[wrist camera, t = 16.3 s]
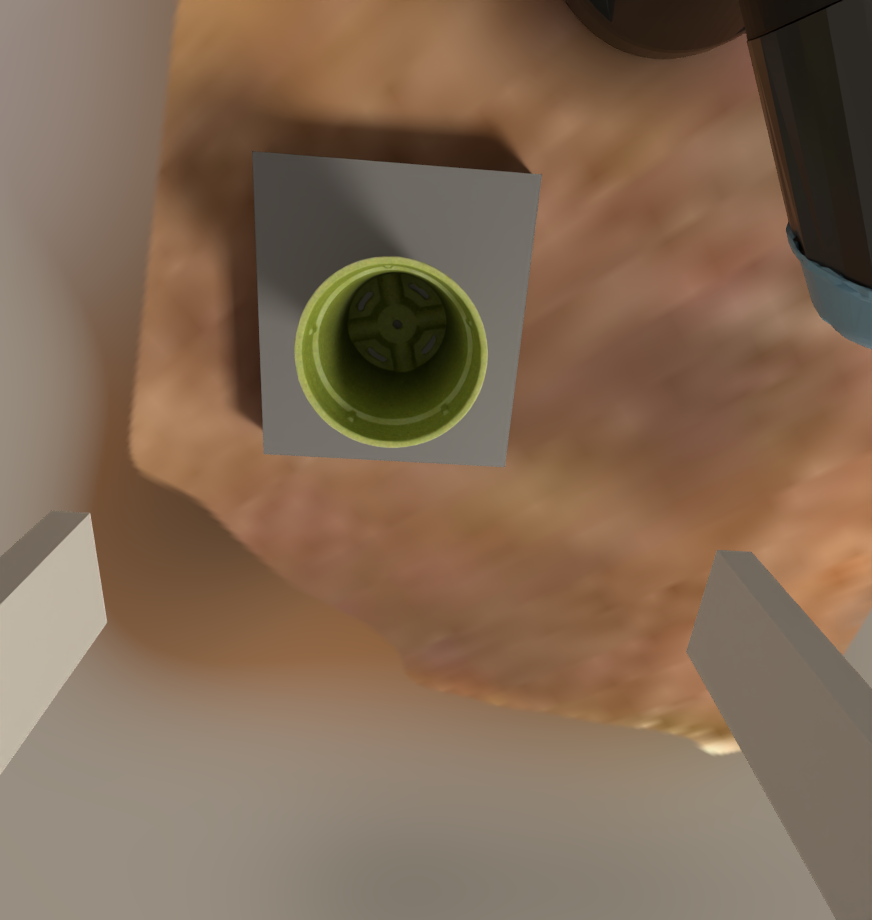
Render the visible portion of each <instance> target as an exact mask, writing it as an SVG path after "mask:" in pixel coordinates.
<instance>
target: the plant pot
mask: <svg viewBox="0 0 872 920" xmlns="http://www.w3.org/2000/svg"><path fill="white" fill-rule="evenodd" d="M410 284H414V285H415V286H417V287H418V288H420V289H423V290H425V291H426V293H427V294H428V295H429V297H428V299H424V298H423V296H421V295H420V294H419V293H418V292H416V291H414V290H413V289H410V288H409V285H410ZM368 292H373V296H372V297H371V298H370V299H369V300H368V302H367V303H366V305H365V306H364V309H363V311H359V309H358V305H359V302H360V301H361V300H362V299H363V297H364V295H365V294H366V293H368ZM396 320H398V321H399V322H401V324H402V326H401V328H399V329H397V328H395V327H394V325H393V323H394V321H396ZM433 335H435V341H434V344H433V346H432V348H431V349H430V350H429V351H428V352H427V353H425V354H422V353H421V350H422V349H423V348H424V347H425V346H426V345H427V344H428V342H429V341H430V339H432V336H433ZM369 347H370V348H372V349H373V350H374V351H376V352H377V353H378V354H379V355H381V356H383V357H385V358H387V361H384V362H382V361H380V360H378V359H376V358H375V357H373V356H372V355H371V354H369V351H368V348H369ZM294 358H295V366H296V371H297V375H298V380H299V383H300V385H301V388H302V390H303V392H304V394H305V396H306V398H307V400H308V402H309V403H310V404H311V406H312V407H313V409H314V410H315V411H316V412H317V414H318V415H319V416H320V417H321V418H322V419H323V420H324V421H325V422H326V423H327V424H328V425H330V426H331V427H332V428H334V429H335V430H337V431H338V432H340V433H341V434H343V435H345V436H347V437H348V438H350V439H353V440H355V441H358V442H360V443H364V444H367V445H372V446H377V447H384V448H399V447H408V446H413V445H418V444H421V443H425V442H428V441H430V440H433V439H435V438H437V437H439V436H440V435H442V434H444V433H445V432H447V431H448V430H450V429H451V428H452V427H453V426H455V425H456V424H457V423H458V422H459V421H460V420H461V419H462V418H463V417H464V416H465V415H466V414H467V412H468V411H469V410H470V408H471V407H472V405H473V404H474V402H475V400H476V399H477V397H478V395H479V393H480V390H481V388H482V385H483V382H484V378H485V374H486V369H487V361H488V348H487V339H486V333H485V329H484V325H483V323H482V320H481V317H480V315H479V313H478V311H477V309H476V307H475V305H474V303H473V302H472V300H471V299H470V298H469V296H468V295H467V294H466V292H465V291H464V290H463V289H462V288H461V287H460V286H459V285H458V284H457V283H456V282H455V281H454V280H453V279H451V278H450V277H449V276H448V275H446V274H445V273H443V272H442V271H440V270H438V269H436V268H435V267H433V266H431V265H429V264H426V263H424V262H421V261H418V260H415V259H410V258H405V257H398V256H379V257H372V258H367V259H363V260H359V261H356V262H354V263H351V264H349V265H347V266H345V267H343V268H341V269H339V270H338V271H336V272H335V273H334V274H332V275H331V276H329V277H328V278H327V279H326V280H325V281H324V282H323V283H322V284H321V285H320V286H319V287H318V288H317V289H316V291H315V292H314V293H313V294H312V296H311V297H310V299H309V301H308V302H307V304H306V306H305V308H304V310H303V312H302V314H301V317H300V320H299V323H298V326H297V330H296V336H295V345H294Z"/></svg>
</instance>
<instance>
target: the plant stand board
mask: <svg viewBox="0 0 872 920" xmlns="http://www.w3.org/2000/svg"><path fill="white" fill-rule="evenodd" d="M252 159H253V185H254V211H255V237H256V263H257V290H258V316H259V342H260V368H261V394H262V420H263V446H264V454H274V455H292V456H310V457H329V458H347V459H366V460H384V461H402V462H421V463H439V464H458V465H476V466H494V467H505V461H506V454H507V446H508V438H509V430H510V422H511V414H512V406H513V398H514V390H515V383H516V375H517V367H518V359H519V351H520V343H521V335H522V327H523V320H524V312H525V304H526V296H527V288H528V280H529V272H530V264H531V256H532V249H533V241H534V233H535V225H536V217H537V209H538V201H539V193H540V185H541V178H542V174H529V173H517V172H504V171H492V170H479V169H467V168H455V167H442V166H430V165H417V164H405V163H393V162H380V161H368V160H355V159H343V158H330V157H318V156H306V155H293V154H281V153H268V152H256V151H252ZM379 256H398V257H405V258H410V259H415V260H418V261H421V262H424V263H426V264H429V265H431V266H433V267H435V268H436V269H438V270H440V271H442V272H443V273H445V274H446V275H448V276H449V277H450V278H451V279H453V280H454V281H455V282H456V283H457V284H458V285H459V286H460V287H461V288H462V289H463V290H464V291H465V292H466V294H467V295H468V296H469V298H470V299H471V300H472V302H473V303H474V305H475V307H476V309H477V311H478V313H479V315H480V317H481V320H482V323H483V325H484V329H485V333H486V339H487V348H488V361H487V369H486V374H485V378H484V382H483V385H482V388H481V390H480V393H479V395H478V397H477V399H476V400H475V402H474V404H473V405H472V407H471V408H470V410H469V411H468V412H467V414H466V415H465V416H464V417H463V418H462V419H461V420H460V421H459V422H458V423H457V424H456V425H455V426H453V427H452V428H451V429H450V430H448V431H447V432H445V433H444V434H442V435H440V436H439V437H437V438H435V439H433V440H430V441H428V442H425V443H421V444H418V445H413V446H408V447H399V448H384V447H377V446H372V445H367V444H364V443H360V442H358V441H355V440H353V439H350V438H348V437H347V436H345V435H343V434H341V433H340V432H338V431H337V430H335V429H334V428H332V427H331V426H330V425H328V424H327V423H326V422H325V421H324V420H323V419H322V418H321V417H320V416H319V415H318V414H317V412H316V411H315V410H314V409H313V407H312V406H311V404H310V403H309V402H308V400H307V398H306V396H305V394H304V392H303V390H302V388H301V385H300V383H299V380H298V375H297V371H296V366H295V358H294V345H295V336H296V330H297V326H298V323H299V320H300V317H301V314H302V312H303V310H304V308H305V306H306V304H307V302H308V301H309V299H310V297H311V296H312V294H313V293H314V292H315V291H316V289H317V288H318V287H319V286H320V285H321V284H322V283H323V282H324V281H325V280H326V279H327V278H328V277H329V276H331V275H332V274H334V273H335V272H336V271H338V270H339V269H341V268H343V267H345V266H347V265H349V264H351V263H354V262H356V261H359V260H363V259H367V258H372V257H379ZM409 288H410V289H413V290H414V291H416V292H418V293H419V294H420V295H421V296H423V298H424V299H428V297H429V295H428V294H427V293H426V291H425V290H423V289H420V288H418V287H417V286H415V285H414V284H410V285H409ZM372 296H373V292H368V293H366V294H365V295H364V297H363V299H362V300H361V301H360V302H359V305H358V309H359V311H363V309H364V306H365V305H366V303H367V302H368V300H369V299H370V298H371V297H372ZM393 325H394V327H395V328H397V329H399V328H401V326H402V324H401V322H399V321H398V320H396V321H394V323H393ZM434 341H435V335H433V336H432V339H430V341H429V342H428V344H427V345H426V346H425V347H424V348H423V349H422V350H421V353H422V354H425V353H427V352H428V351H429V350H430V349H431V348H432V346H433V344H434ZM368 351H369V354H371V355H372V356H373V357H375V358H376V359H378V360H380V361H382V362H384V361H387V358H385V357H383V356H381V355H379V354H378V353H377V352H376V351H374V350H373V349H372V348H370V347H369V348H368Z"/></svg>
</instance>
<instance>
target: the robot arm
mask: <svg viewBox="0 0 872 920" xmlns="http://www.w3.org/2000/svg"><path fill="white" fill-rule="evenodd" d="M565 1H566V2H567V4H568V5H569V7H570V8H571V10H572V11H573V12H574V14H575V15H576V16H577V17H578V18H579V20H580V21H581V22H582V23H583V24H584V25H585V26H586V27H587V28H588V29H589V30H590V31H591V32H593V33H594V34H595V35H596V36H598V37H599V38H600V39H602V40H603V41H605V42H606V43H608V44H610V45H612V46H613V47H615V48H617V49H620V50H622V51H624V52H627V53H630V54H633V55H637V56H641V57H647V58H654V59H674V58H681V57H687V56H692V55H695V54H699V53H702V52H705V51H708V50H710V49H713V48H715V47H717V46H720V45H722V44H724V43H726V42H728V41H731V40H733V39H735V38H737V37H739V36H740V35H742V34H744V33H746V34H747V39H748V40H747V44H748V48H749V53H750V57H751V61H752V66H753V70H754V74H755V79H756V83H757V87H758V92H759V96H760V100H761V104H762V109H763V113H764V117H765V122H766V126H767V130H768V135H769V139H770V143H771V148H772V152H773V156H774V161H775V165H776V169H777V173H778V178H779V182H780V186H781V191H782V195H783V199H784V204H785V208H786V212H787V217H788V221H789V222H788V225H787V228H786V232H787V237H788V242H789V245H790V247H791V249H792V251H793V253H794V254H795V255H796V257H797V258H798V259H799V261H800V262H801V266H802V269H803V273H804V276H805V280H806V283H807V287H808V290H809V293H810V297H811V300H812V303H813V305H814V307H815V309H816V310H817V312H818V314H819V315H820V317H821V318H822V319H823V320H824V321H826V322H827V323H829V324H831V325H832V326H833V328H834V329H835V330H836V331H838V332H839V333H840V334H841V335H842V336H844V337H845V338H847V339H848V340H850V341H853V342H855V343H857V344H859V345H862V346H864V347H867V348H870V349H872V0H565ZM106 623H107V618H106V612H105V605H104V599H103V593H102V587H101V580H100V574H99V567H98V561H97V555H96V548H95V541H94V536H93V529H92V522H91V516H90V513H82V512H65V511H51V512H50V513H48V514H47V515H46V516H45V517H44V518H43V519H42V520H41V521H40V522H38V523H37V524H36V525H35V526H34V527H33V528H32V529H31V530H30V531H28V532H27V533H26V534H25V535H24V536H23V537H22V538H21V539H20V540H19V541H17V542H16V543H15V544H14V545H13V546H12V547H11V548H10V549H9V550H8V551H7V552H5V553H4V554H3V555H2V556H1V557H0V774H1V773H2V771H3V770H4V769H5V767H6V766H7V764H8V763H9V761H10V760H11V759H12V757H13V756H14V755H15V753H16V752H17V750H18V749H19V747H20V746H21V745H22V743H23V742H24V740H25V739H26V737H27V736H28V735H29V733H30V731H31V730H32V729H33V727H34V726H35V724H36V723H37V722H38V720H39V719H40V717H41V716H42V715H43V713H44V712H45V710H46V709H47V707H48V706H49V705H50V703H51V702H52V700H53V699H54V697H55V696H56V695H57V693H58V692H59V690H60V689H61V687H62V686H63V685H64V683H65V682H66V680H67V679H68V678H69V676H70V675H71V673H72V672H73V670H74V669H75V667H76V666H77V665H78V663H79V662H80V660H81V659H82V658H83V656H84V655H85V653H86V652H87V650H88V649H89V648H90V646H91V645H92V643H93V642H94V640H95V639H96V638H97V636H98V635H99V633H100V632H101V630H102V629H103V628H104V626H105V625H106ZM686 652H687V654H688V655H689V657H690V659H691V661H692V663H693V664H694V666H695V668H696V670H697V672H698V673H699V675H700V677H701V679H702V681H703V682H704V684H705V686H706V688H707V689H708V691H709V693H710V695H711V697H712V698H713V700H714V702H715V704H716V706H717V707H718V709H719V711H720V713H721V715H722V716H723V718H724V720H725V722H726V724H727V725H728V727H729V729H730V731H731V732H732V734H733V736H734V738H735V740H736V741H737V743H738V745H739V747H740V749H741V750H742V752H743V754H744V756H745V758H746V759H747V761H748V763H749V765H750V767H751V768H752V770H753V772H754V774H755V775H756V777H757V779H758V781H759V783H760V784H761V786H762V788H763V790H764V792H765V793H766V795H767V797H768V799H769V801H770V802H771V804H772V806H773V808H774V810H775V811H776V813H777V815H778V817H779V818H780V820H781V822H782V824H783V826H784V827H785V829H786V831H787V833H788V834H789V836H790V838H791V840H792V842H793V843H794V845H795V847H796V849H797V851H798V852H799V854H800V856H801V858H802V860H803V861H804V863H805V865H806V867H807V869H808V870H809V872H810V874H811V876H812V878H813V879H814V881H815V883H816V885H817V887H818V888H819V890H820V892H821V893H822V895H823V897H824V899H825V901H826V903H827V904H828V906H829V908H830V910H831V912H832V913H833V915H834V917H835V919H836V920H872V689H871V687H870V686H869V685H868V684H867V683H866V682H865V680H864V679H863V678H862V677H861V676H860V675H859V674H858V672H857V671H856V670H855V669H854V668H853V667H852V666H851V665H850V663H849V662H848V661H847V660H846V659H845V658H844V657H843V655H842V654H841V653H840V652H839V651H838V650H837V649H836V647H835V646H834V645H833V644H832V643H831V642H830V641H829V639H828V638H827V637H826V636H825V635H824V634H823V633H822V632H821V630H820V629H819V628H818V627H817V626H816V625H815V624H814V622H813V621H812V620H811V619H810V618H809V617H808V616H807V614H806V613H805V612H804V611H803V610H802V609H801V608H800V606H799V605H798V604H797V603H796V602H795V601H794V600H793V599H792V597H791V596H790V595H789V594H788V593H787V592H786V591H785V589H784V588H783V587H782V586H781V585H780V584H779V583H778V581H777V580H776V579H775V578H774V577H773V576H772V575H771V574H770V572H769V571H768V570H767V569H766V568H765V567H764V566H763V564H762V563H761V562H760V561H759V560H758V559H757V558H756V556H755V555H754V554H753V553H752V552H743V551H726V550H717V551H716V555H715V558H714V561H713V565H712V568H711V571H710V575H709V578H708V581H707V585H706V588H705V591H704V595H703V598H702V601H701V605H700V608H699V611H698V615H697V618H696V621H695V625H694V628H693V631H692V634H691V638H690V641H689V644H688V648H687V651H686Z"/></svg>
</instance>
